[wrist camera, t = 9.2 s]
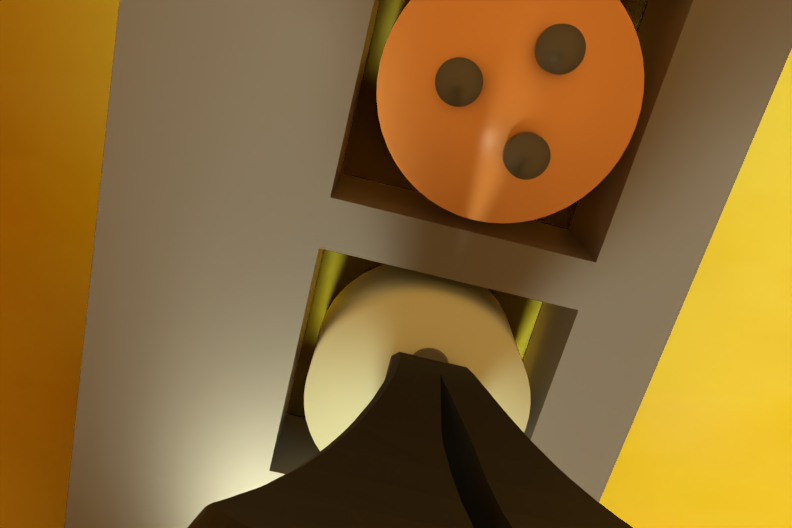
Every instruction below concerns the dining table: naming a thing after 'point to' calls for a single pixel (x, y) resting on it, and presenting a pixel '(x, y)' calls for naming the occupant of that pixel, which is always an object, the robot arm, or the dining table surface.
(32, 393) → the dining table surface
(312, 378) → the button two
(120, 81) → the button panel
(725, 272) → the dining table surface
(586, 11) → the button three
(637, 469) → the dining table surface
